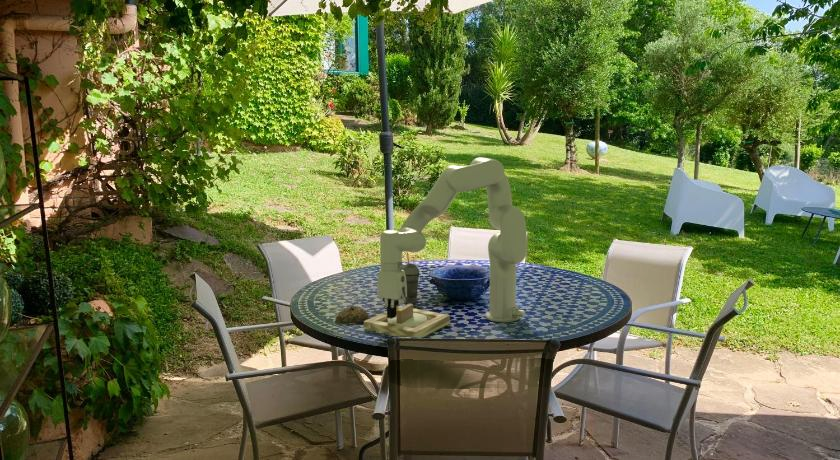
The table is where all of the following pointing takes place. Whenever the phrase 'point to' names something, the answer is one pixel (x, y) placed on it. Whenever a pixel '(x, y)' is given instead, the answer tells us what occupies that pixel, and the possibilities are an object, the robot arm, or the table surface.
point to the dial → (407, 317)
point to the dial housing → (432, 324)
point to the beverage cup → (411, 281)
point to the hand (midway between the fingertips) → (391, 317)
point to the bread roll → (352, 315)
